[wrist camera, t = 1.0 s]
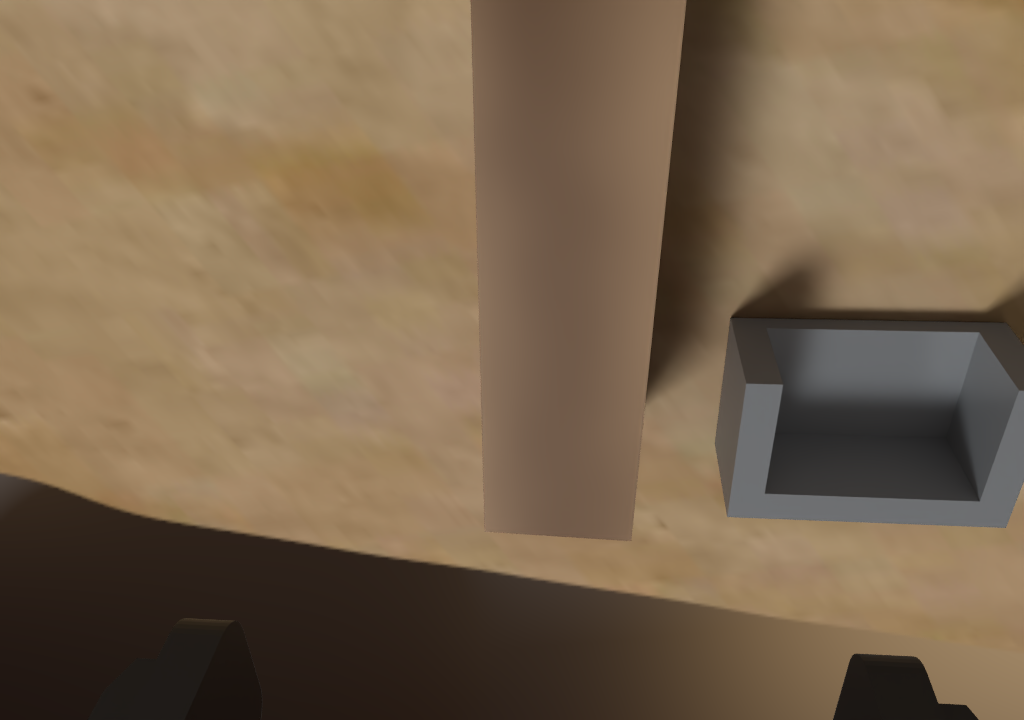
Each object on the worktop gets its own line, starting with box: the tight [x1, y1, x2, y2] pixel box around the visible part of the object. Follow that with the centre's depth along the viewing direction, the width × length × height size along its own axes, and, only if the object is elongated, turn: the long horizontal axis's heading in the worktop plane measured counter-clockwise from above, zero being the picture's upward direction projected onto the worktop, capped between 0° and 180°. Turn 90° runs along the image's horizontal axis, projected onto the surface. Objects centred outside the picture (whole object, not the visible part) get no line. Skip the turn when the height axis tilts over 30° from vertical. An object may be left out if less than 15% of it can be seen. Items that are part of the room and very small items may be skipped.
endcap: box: [715, 318, 1024, 528], centre depth 27 cm, size 8×5×4 cm, turn 92°
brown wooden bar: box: [471, 0, 687, 541], centre depth 23 cm, size 4×16×6 cm, turn 0°
